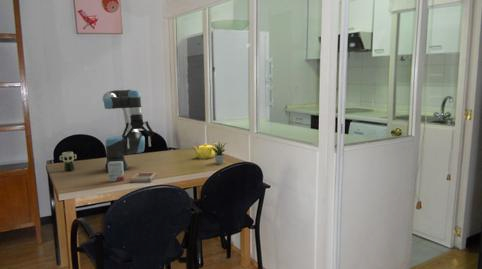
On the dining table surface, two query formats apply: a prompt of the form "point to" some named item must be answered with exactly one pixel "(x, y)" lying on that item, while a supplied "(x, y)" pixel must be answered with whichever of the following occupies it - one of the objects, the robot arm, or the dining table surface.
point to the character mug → (68, 160)
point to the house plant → (219, 153)
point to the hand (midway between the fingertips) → (139, 147)
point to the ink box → (116, 171)
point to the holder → (143, 177)
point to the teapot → (205, 151)
